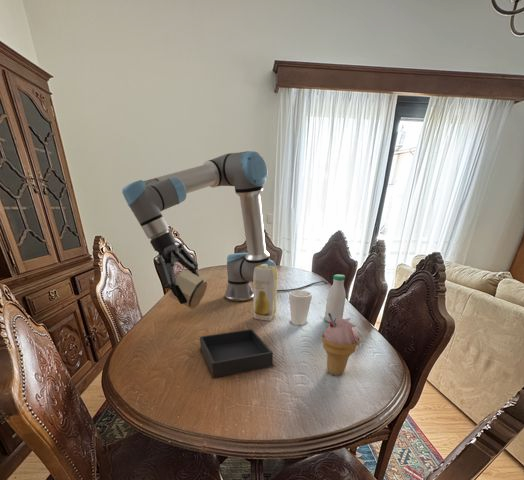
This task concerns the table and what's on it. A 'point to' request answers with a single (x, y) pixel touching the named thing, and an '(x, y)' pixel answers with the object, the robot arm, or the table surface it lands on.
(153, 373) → the table surface
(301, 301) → the foam cup
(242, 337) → the tray
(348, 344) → the ice cream cone
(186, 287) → the pot
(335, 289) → the milk bottle
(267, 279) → the juice carton
